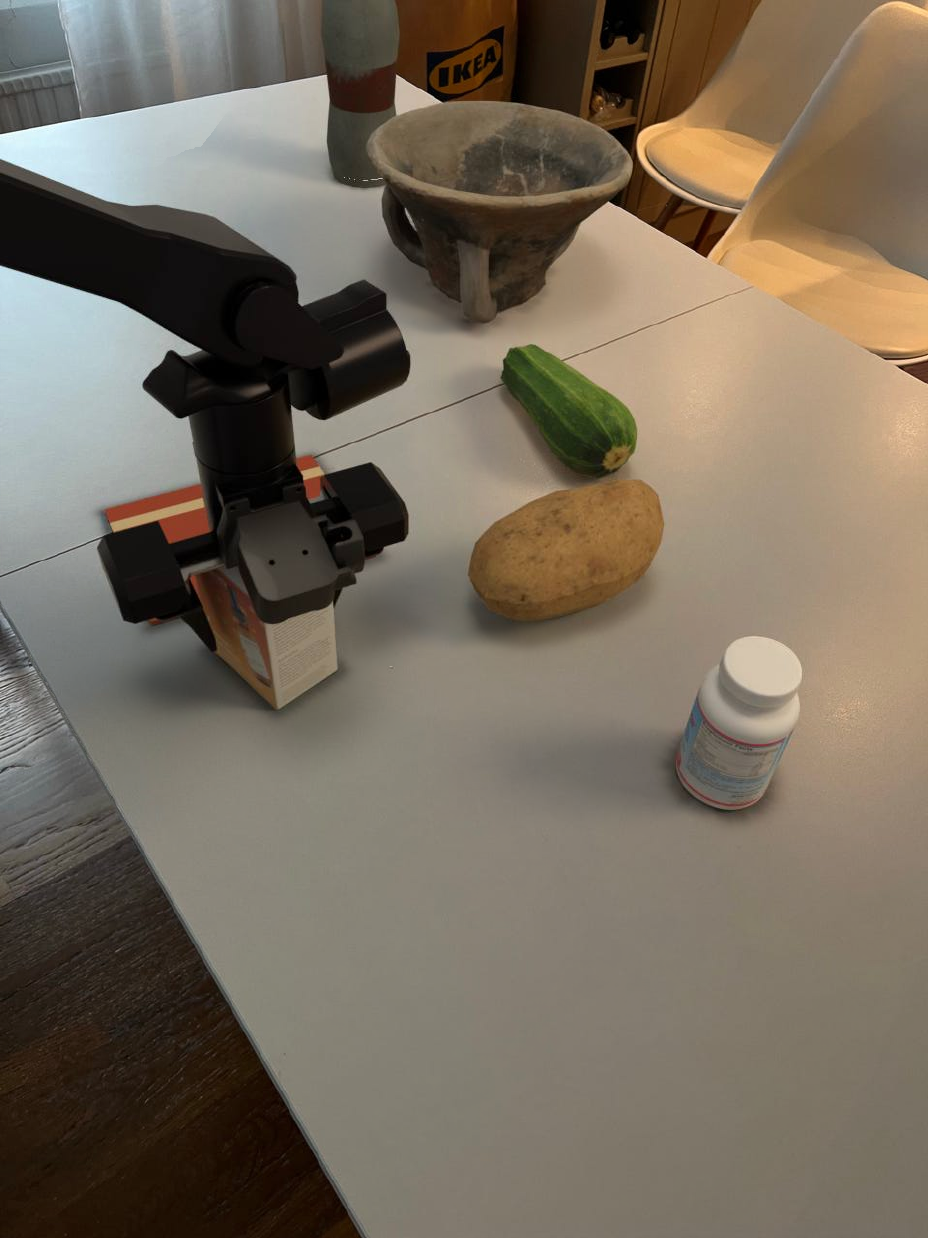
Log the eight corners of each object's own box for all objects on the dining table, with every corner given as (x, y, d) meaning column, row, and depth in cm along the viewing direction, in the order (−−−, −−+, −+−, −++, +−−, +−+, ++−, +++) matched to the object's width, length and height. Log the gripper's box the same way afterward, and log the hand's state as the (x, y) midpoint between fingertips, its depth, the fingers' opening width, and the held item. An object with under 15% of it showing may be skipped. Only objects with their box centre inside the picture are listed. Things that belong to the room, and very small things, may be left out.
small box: (209, 649, 72) (184, 541, 65) (271, 611, 75) (255, 503, 67) (277, 714, 68) (260, 607, 61) (340, 671, 71) (331, 564, 64)
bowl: (550, 214, 124) (565, 83, 113) (654, 320, 107) (683, 179, 96) (341, 242, 116) (335, 105, 105) (418, 361, 100) (420, 213, 89)
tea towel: (151, 625, 74) (150, 621, 73) (104, 512, 82) (103, 508, 82) (376, 556, 80) (376, 552, 79) (311, 457, 88) (311, 453, 88)
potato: (445, 583, 78) (449, 489, 71) (620, 537, 83) (639, 445, 76) (489, 661, 73) (498, 568, 66) (674, 608, 77) (700, 516, 70)
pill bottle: (707, 723, 70) (747, 610, 61) (783, 775, 67) (835, 664, 59) (655, 774, 66) (690, 662, 58) (733, 831, 64) (781, 722, 55)
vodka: (314, 169, 130) (296, -112, 108) (371, 154, 134) (365, -121, 112) (356, 195, 125) (347, -94, 103) (414, 178, 129) (417, -103, 108)
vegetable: (604, 413, 80) (502, 296, 93) (559, 486, 84) (466, 364, 96) (667, 432, 84) (561, 318, 97) (621, 500, 88) (525, 381, 101)
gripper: (118, 579, 50) (170, 762, 61) (451, 482, 57) (443, 664, 68) (68, 455, 57) (124, 641, 68) (371, 381, 63) (376, 562, 74)
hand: (270, 628), depth 69 cm, fingers open, 8 cm apart
